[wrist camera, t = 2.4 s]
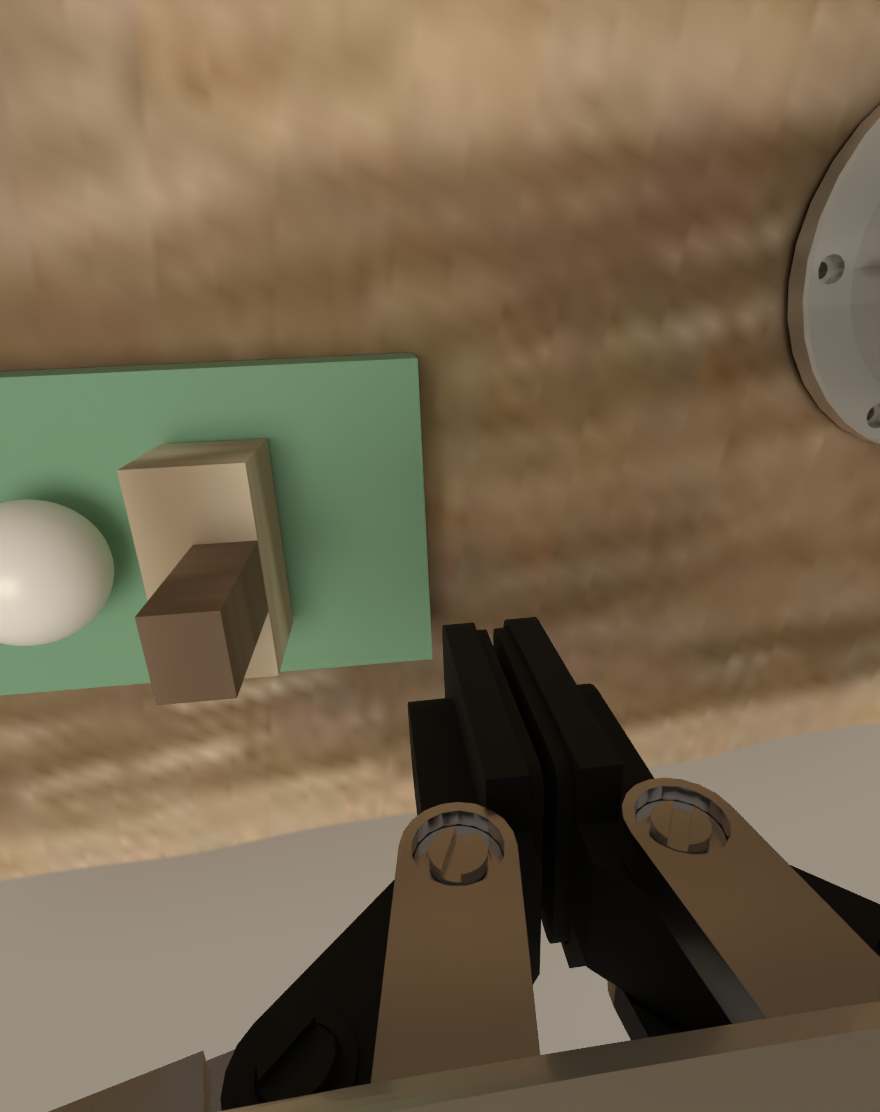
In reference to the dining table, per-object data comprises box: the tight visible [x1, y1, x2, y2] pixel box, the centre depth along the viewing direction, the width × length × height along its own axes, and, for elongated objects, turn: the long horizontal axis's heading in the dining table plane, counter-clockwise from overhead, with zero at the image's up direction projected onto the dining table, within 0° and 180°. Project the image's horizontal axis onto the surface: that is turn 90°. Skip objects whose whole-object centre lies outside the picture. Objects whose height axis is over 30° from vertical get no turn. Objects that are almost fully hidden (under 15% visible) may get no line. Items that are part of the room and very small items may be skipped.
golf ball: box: [0, 499, 114, 646], centre depth 17 cm, size 4×4×4 cm
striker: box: [117, 438, 293, 705], centre depth 15 cm, size 3×6×7 cm, turn 2°
